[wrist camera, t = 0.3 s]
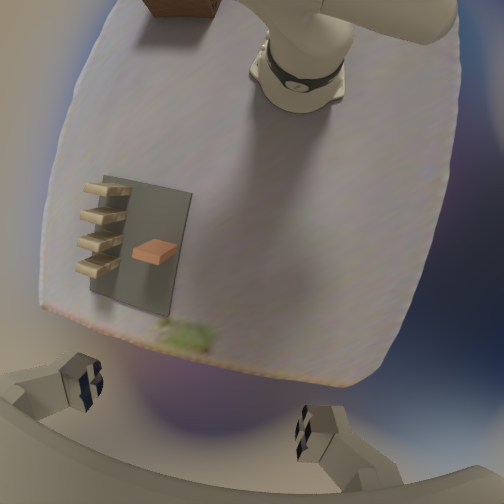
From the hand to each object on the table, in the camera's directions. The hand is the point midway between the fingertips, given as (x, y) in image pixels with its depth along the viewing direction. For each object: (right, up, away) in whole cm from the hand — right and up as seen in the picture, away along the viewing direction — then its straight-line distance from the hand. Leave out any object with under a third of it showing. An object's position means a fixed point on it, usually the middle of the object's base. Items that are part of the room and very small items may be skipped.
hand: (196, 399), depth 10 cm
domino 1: (-24, +18, +44) cm, 53 cm away
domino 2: (-26, +14, +45) cm, 53 cm away
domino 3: (-27, +9, +46) cm, 54 cm away
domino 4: (-28, +4, +47) cm, 55 cm away
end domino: (-15, +7, +46) cm, 48 cm away
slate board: (-22, +7, +47) cm, 52 cm away
